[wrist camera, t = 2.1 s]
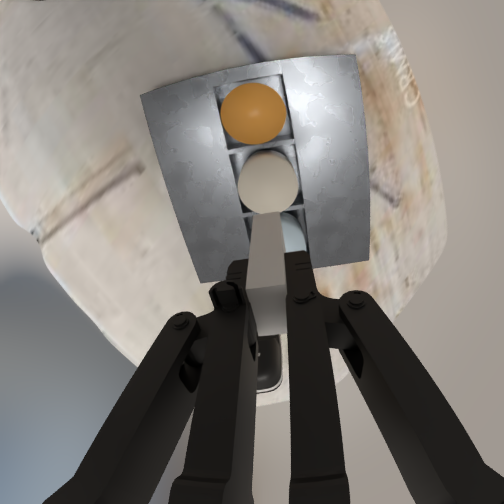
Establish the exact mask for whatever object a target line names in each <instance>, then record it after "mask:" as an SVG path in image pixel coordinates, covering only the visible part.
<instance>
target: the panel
mask: <svg viewBox="0 0 504 504" xmlns="http://www.w3.org/2000/svg"><path fill="white" fill-rule="evenodd" d="M247 83H260V84H264V85H266V86H269V87H271V88H272V89H274V90H275V91H276V92H277V93H278V94H279V95H280V96H281V98H282V100H283V102H284V104H285V107H286V120H285V124H284V126H283V128H282V130H281V131H280V132H279V134H278V135H277V136H276V137H274V138H273V139H271V140H270V141H268V142H265V143H262V144H245V143H242V142H239V141H237V140H236V139H234V138H233V137H231V136H230V135H229V134H228V132H227V131H226V130H225V128H224V126H223V124H222V121H221V106H222V103H223V101H224V99H225V97H226V96H227V95H228V93H230V92H231V91H232V90H233V89H234V88H236V87H238V86H240V85H243V84H247ZM140 97H141V101H142V105H143V109H144V112H145V116H146V120H147V123H148V127H149V130H150V134H151V137H152V141H153V144H154V148H155V151H156V154H157V158H158V161H159V164H160V168H161V171H162V174H163V177H164V180H165V183H166V187H167V190H168V193H169V196H170V199H171V202H172V205H173V208H174V211H175V214H176V217H177V220H178V223H179V225H180V228H181V231H182V234H183V237H184V240H185V242H186V245H187V248H188V251H189V254H190V256H191V259H192V262H193V264H194V267H195V270H196V272H197V275H198V278H199V280H200V283H207V282H215V281H223V280H226V275H227V270H228V267H229V265H230V264H231V263H232V262H233V261H234V260H241V259H248V258H249V252H250V242H251V232H252V223H253V215H257V214H259V213H256V212H254V211H252V210H250V209H249V208H248V207H247V206H246V205H245V204H244V203H243V202H242V200H241V198H240V196H239V193H238V180H239V176H240V173H241V169H242V166H243V164H244V162H245V161H246V160H247V158H249V157H250V156H251V155H252V154H254V153H256V152H259V151H263V150H272V151H276V152H279V153H281V154H283V155H284V156H286V157H287V158H288V159H289V161H290V162H291V164H292V165H293V168H294V171H295V174H296V177H297V181H298V193H297V196H296V198H295V200H294V202H293V203H292V204H291V205H290V207H288V208H287V209H286V210H284V211H282V212H285V213H288V214H291V215H292V216H294V217H295V218H296V219H297V220H298V221H299V222H300V224H301V226H302V230H303V234H304V239H305V244H306V252H307V253H308V254H309V255H310V259H311V264H312V269H314V268H321V267H327V266H334V265H341V264H348V263H354V262H361V261H367V260H369V247H370V184H369V162H368V147H367V135H366V124H365V115H364V106H363V98H362V91H361V84H360V78H359V71H358V65H357V60H356V55H355V54H350V55H325V56H311V57H300V58H291V59H283V60H275V61H269V62H262V63H256V64H251V65H245V66H240V67H235V68H231V69H226V70H222V71H217V72H213V73H209V74H205V75H201V76H198V77H194V78H191V79H187V80H184V81H180V82H177V83H174V84H171V85H168V86H164V87H161V88H159V89H156V90H153V91H150V92H147V93H144V94H142V95H140Z"/></svg>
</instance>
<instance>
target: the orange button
mask: <svg viewBox="0 0 504 504" xmlns="http://www.w3.org/2000/svg"><path fill="white" fill-rule="evenodd" d="M285 120H286V107H285V104H284V102H283V100H282V98H281V96H280V95H279V94H278V93H277V92H276V91H275V90H274V89H272V88H271V87H269V86H266V85H264V84H260V83H247V84H243V85H240V86H238V87H236V88H234V89H233V90H232V91H231V92H230V93H228V95H227V96H226V97H225V99H224V101H223V103H222V106H221V121H222V124H223V126H224V128H225V130H226V131H227V132H228V134H229V135H230V136H231V137H233V138H234V139H236V140H237V141H239V142H242V143H245V144H262V143H265V142H268V141H270V140H271V139H273V138H274V137H276V136H277V135H278V134H279V132H280V131H281V130H282V128H283V126H284V124H285Z"/></svg>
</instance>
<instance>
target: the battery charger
mask: <svg viewBox="0 0 504 504" xmlns="http://www.w3.org/2000/svg"><path fill="white" fill-rule="evenodd" d="M256 338H257V342H258V370H257V393H256V394H259V393H266V392H271V391H274V390H275V389H277V388H278V387H279V386H280V384H281V382H282V377H283V354H282V342H281V334H277V335H268V336H258V332H257V335H256Z"/></svg>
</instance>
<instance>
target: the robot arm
mask: <svg viewBox="0 0 504 504" xmlns="http://www.w3.org/2000/svg"><path fill="white" fill-rule="evenodd" d="M35 1H43V0H35ZM209 295H210V298H211V300H212V303H213V306H214V311H212V312H211V313H208V314H206V315H203V316H200V317H197V318H196V316H195V315H194V314H193V313H191V312H180V313H177V314H175V315H173V316H172V317H171V318H170V319H169V320H168V321H167V323H166V324H165V326H164V327H163V329H162V330H161V332H160V333H159V335H158V337H157V338H156V340H155V341H154V343H153V344H152V346H151V348H150V349H149V351H148V352H147V354H146V355H145V357H144V359H143V360H142V362H141V363H140V365H139V367H138V368H137V370H136V371H135V373H134V375H133V376H132V378H131V379H130V381H129V383H128V384H127V386H126V388H125V389H124V391H123V392H122V394H121V396H120V397H119V399H118V401H117V402H116V404H115V406H114V407H113V409H112V411H111V412H110V414H109V416H108V417H107V419H106V421H105V422H104V424H103V426H102V427H101V429H100V431H99V432H98V434H97V436H96V438H95V440H94V441H93V443H92V445H91V447H90V448H89V450H88V452H87V453H86V455H85V457H84V459H83V461H82V462H81V464H80V466H79V467H78V469H77V471H76V473H75V475H74V477H72V478H71V479H70V480H69V481H68V482H67V483H65V484H64V485H63V486H62V487H61V488H59V489H58V490H57V491H56V492H55V493H53V495H51V496H50V497H49V498H47V499H46V500H45V501H44V502H43V503H42V504H148V503H149V502H150V500H151V497H152V495H153V493H154V491H155V489H156V487H157V485H158V483H159V481H160V479H161V477H162V474H163V473H164V470H165V468H166V466H167V464H168V462H169V460H170V458H171V456H172V454H173V452H174V449H175V447H176V445H177V443H178V441H179V439H180V437H181V434H182V432H183V430H184V428H185V426H186V423H187V422H188V419H189V417H190V415H191V413H192V411H193V409H194V413H193V418H192V423H191V430H190V435H189V440H188V446H187V452H186V458H185V464H184V469H183V472H182V474H181V475H180V476H179V477H177V478H176V479H175V480H174V482H173V483H172V487H171V490H170V496H169V502H168V504H254V500H253V496H252V475H253V456H254V435H255V414H256V393H257V370H258V342H257V338H256V335H257V332H258V336H268V335H277V334H286V333H287V338H288V361H289V388H290V422H291V423H290V424H291V480H290V486H289V487H290V488H289V504H350V494H349V493H350V492H349V483H348V477H347V474H346V471H345V462H344V452H343V443H342V434H341V426H340V418H339V410H338V402H337V395H336V389H335V381H334V375H333V368H332V362H331V356H330V350H329V348H336V349H339V352H340V354H341V355H342V357H343V359H344V361H345V363H346V365H347V367H348V369H349V371H350V373H351V374H352V376H353V378H354V380H355V382H356V384H357V386H358V388H359V390H360V391H361V394H362V396H363V397H364V399H365V402H366V403H367V405H368V407H369V409H370V411H371V413H372V415H373V417H374V419H375V421H376V423H377V425H378V427H379V429H380V431H381V433H382V435H383V437H384V439H385V441H386V443H387V445H388V448H389V450H390V452H391V454H392V456H393V458H394V460H395V462H396V464H397V466H398V468H399V470H400V473H401V475H402V477H403V479H404V481H405V483H406V485H407V488H408V490H409V492H410V494H411V496H412V497H413V499H414V501H415V503H416V504H504V477H502V476H501V475H500V474H498V473H497V472H496V471H494V470H493V469H492V468H490V467H489V466H487V465H486V464H485V463H484V461H483V460H482V458H481V456H480V454H479V453H478V451H477V449H476V447H475V446H474V444H473V442H472V440H471V439H470V437H469V435H468V434H467V432H466V430H465V429H464V427H463V425H462V424H461V422H460V421H459V419H458V417H457V416H456V414H455V413H454V411H453V409H452V408H451V406H450V405H449V403H448V402H447V400H446V399H445V397H444V395H443V394H442V392H441V391H440V389H439V388H438V386H437V385H436V384H435V382H434V381H433V379H432V378H431V376H430V375H429V373H428V372H427V370H426V369H425V367H424V366H423V365H422V363H421V362H420V360H419V359H418V358H417V356H416V355H415V353H414V352H413V351H412V349H411V348H410V347H409V345H408V344H407V342H406V341H405V340H404V338H403V337H402V336H401V334H400V333H399V332H398V330H397V329H396V328H395V326H394V325H393V324H392V322H391V321H390V320H389V318H388V317H387V316H386V314H385V313H384V312H383V310H382V309H381V308H380V307H379V305H378V304H377V303H376V302H375V300H374V299H373V298H372V296H370V295H369V294H368V293H366V292H364V291H358V290H354V291H349V292H347V293H345V294H343V295H342V296H341V298H340V299H332V298H327V297H325V296H323V295H321V294H320V293H319V292H318V290H317V288H316V283H315V278H314V273H313V269H312V264H311V259H310V255H309V254H308V253H307V252H306V251H305V250H300V251H293V252H286V249H285V242H284V236H283V230H282V224H281V218H280V212H279V211H277V212H270V213H264V214H257V215H253V223H252V232H251V242H250V252H249V258H248V259H241V260H234V261H233V262H232V263H231V264H230V265H229V267H228V270H227V275H226V280H224V281H220V282H218V283H216V284H215V285H213V286H212V287H211V288H210V290H209Z"/></svg>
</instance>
